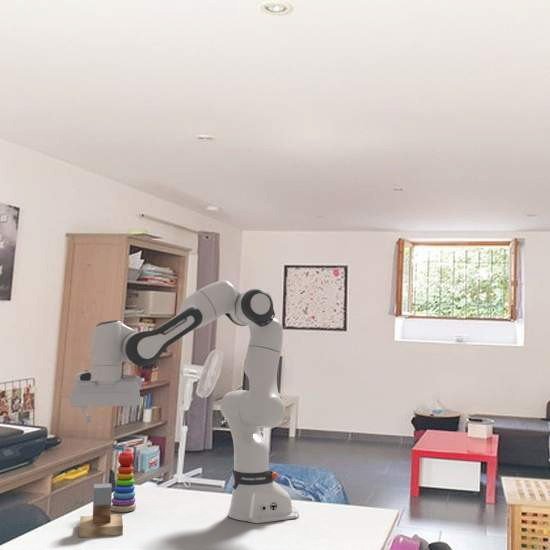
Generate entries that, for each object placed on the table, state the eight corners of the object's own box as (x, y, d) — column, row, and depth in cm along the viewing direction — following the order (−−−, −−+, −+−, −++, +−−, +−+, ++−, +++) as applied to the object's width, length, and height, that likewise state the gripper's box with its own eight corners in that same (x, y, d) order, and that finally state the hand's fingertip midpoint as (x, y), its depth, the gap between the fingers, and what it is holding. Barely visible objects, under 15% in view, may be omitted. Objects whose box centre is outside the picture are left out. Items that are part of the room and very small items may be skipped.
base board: (121, 522, 194) (121, 513, 194) (122, 534, 183) (122, 525, 183) (80, 525, 191) (80, 516, 191) (78, 537, 180) (79, 528, 180)
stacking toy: (129, 514, 203) (131, 453, 205) (106, 512, 205) (108, 452, 206) (139, 507, 211) (141, 449, 213) (117, 505, 213) (119, 448, 214)
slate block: (110, 500, 191) (111, 483, 191) (111, 504, 186) (111, 487, 187) (93, 501, 189) (93, 484, 190) (93, 506, 185) (94, 488, 185)
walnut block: (110, 518, 190) (110, 500, 190) (110, 522, 185) (111, 505, 186) (92, 519, 189) (93, 501, 189) (92, 524, 184) (93, 506, 184)
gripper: (141, 373, 197) (139, 419, 195) (71, 374, 191) (69, 421, 190) (142, 375, 190) (141, 422, 189) (70, 375, 185) (68, 424, 184)
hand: (104, 421), depth 190 cm, fingers open, 8 cm apart
